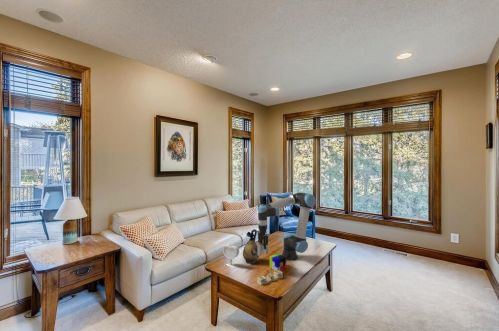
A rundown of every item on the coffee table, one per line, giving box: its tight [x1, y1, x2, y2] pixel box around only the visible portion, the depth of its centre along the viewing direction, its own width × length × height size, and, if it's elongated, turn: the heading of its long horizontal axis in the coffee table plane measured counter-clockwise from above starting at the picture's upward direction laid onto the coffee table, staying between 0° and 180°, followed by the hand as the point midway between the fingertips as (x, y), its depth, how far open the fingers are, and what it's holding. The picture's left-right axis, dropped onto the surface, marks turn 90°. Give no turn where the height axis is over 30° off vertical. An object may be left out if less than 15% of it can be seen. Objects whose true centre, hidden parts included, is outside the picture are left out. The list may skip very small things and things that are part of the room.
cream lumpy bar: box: [256, 270, 284, 286], centre depth 186 cm, size 22×5×4 cm, turn 124°
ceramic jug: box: [242, 228, 260, 264], centre depth 221 cm, size 17×15×30 cm
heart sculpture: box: [222, 244, 240, 269], centre depth 212 cm, size 16×5×18 cm, turn 59°
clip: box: [257, 242, 269, 257], centre depth 201 cm, size 9×3×10 cm, turn 124°
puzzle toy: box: [269, 253, 287, 272], centre depth 207 cm, size 10×10×10 cm
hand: (262, 251), depth 201 cm, fingers closed on clip, 3 cm apart
